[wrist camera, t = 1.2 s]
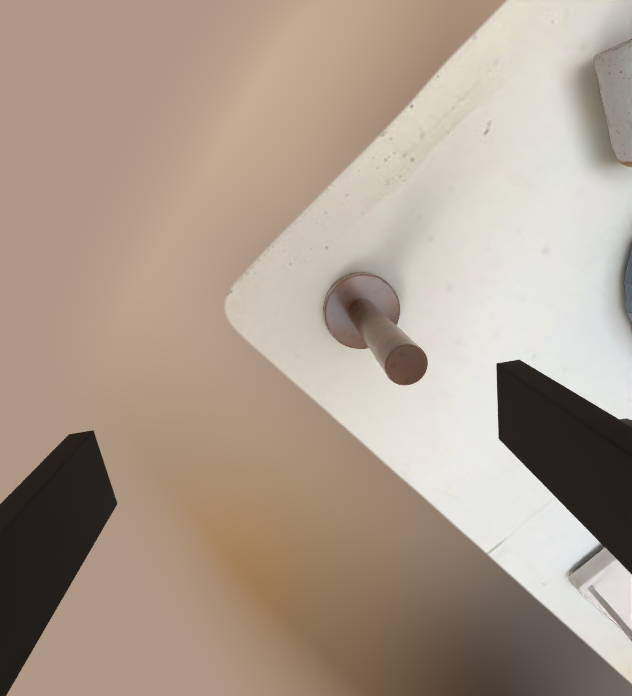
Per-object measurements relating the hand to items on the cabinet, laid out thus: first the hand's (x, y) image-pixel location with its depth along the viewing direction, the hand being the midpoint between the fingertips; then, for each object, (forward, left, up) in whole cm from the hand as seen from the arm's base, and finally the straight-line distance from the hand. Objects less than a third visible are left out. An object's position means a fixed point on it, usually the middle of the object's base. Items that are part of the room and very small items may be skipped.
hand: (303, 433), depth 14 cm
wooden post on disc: (-1, +5, -22) cm, 23 cm away
